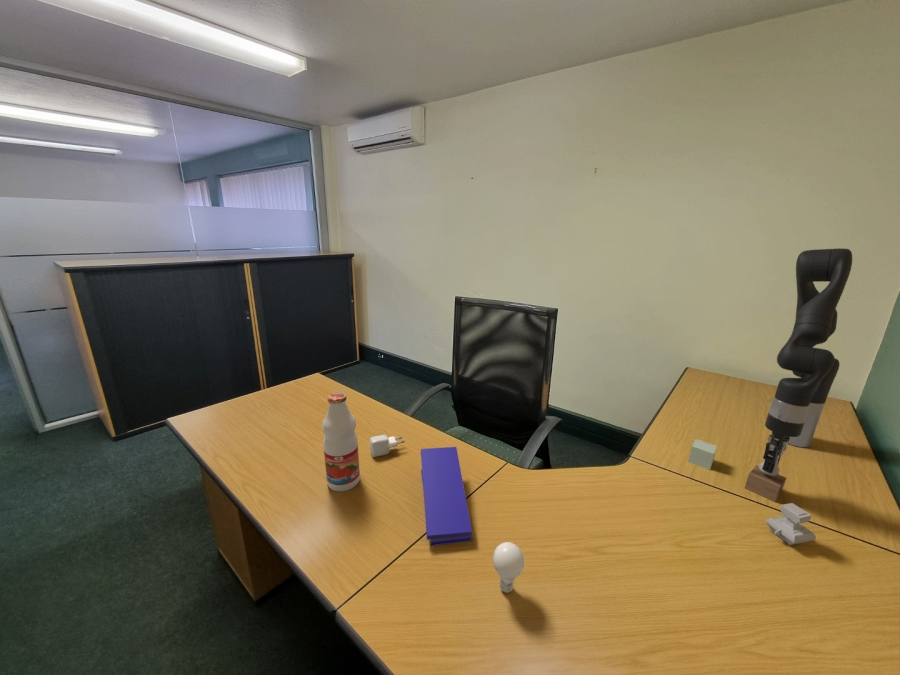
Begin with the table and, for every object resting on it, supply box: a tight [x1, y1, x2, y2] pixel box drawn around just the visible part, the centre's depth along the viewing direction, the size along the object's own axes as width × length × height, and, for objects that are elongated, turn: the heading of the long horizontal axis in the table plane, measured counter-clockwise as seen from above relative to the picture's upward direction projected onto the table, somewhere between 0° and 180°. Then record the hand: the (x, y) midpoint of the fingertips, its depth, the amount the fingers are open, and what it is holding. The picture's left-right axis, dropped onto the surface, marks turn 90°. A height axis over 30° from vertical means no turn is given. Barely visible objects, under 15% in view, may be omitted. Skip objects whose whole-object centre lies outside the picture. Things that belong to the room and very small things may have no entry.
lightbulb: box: [492, 541, 525, 594], centre depth 74 cm, size 6×6×11 cm
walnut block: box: [744, 464, 787, 503], centre depth 105 cm, size 7×7×5 cm
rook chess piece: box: [758, 450, 781, 476], centre depth 103 cm, size 4×4×8 cm
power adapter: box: [369, 434, 405, 458], centre depth 120 cm, size 11×5×6 cm, turn 113°
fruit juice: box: [321, 392, 361, 492], centre depth 102 cm, size 9×9×28 cm
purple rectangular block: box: [420, 446, 473, 546], centre depth 97 cm, size 12×28×10 cm, turn 9°
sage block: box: [687, 438, 718, 471], centre depth 118 cm, size 6×6×6 cm
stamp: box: [765, 502, 817, 546], centre depth 88 cm, size 9×7×8 cm
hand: (769, 467), depth 104 cm, fingers closed on rook chess piece, 4 cm apart
